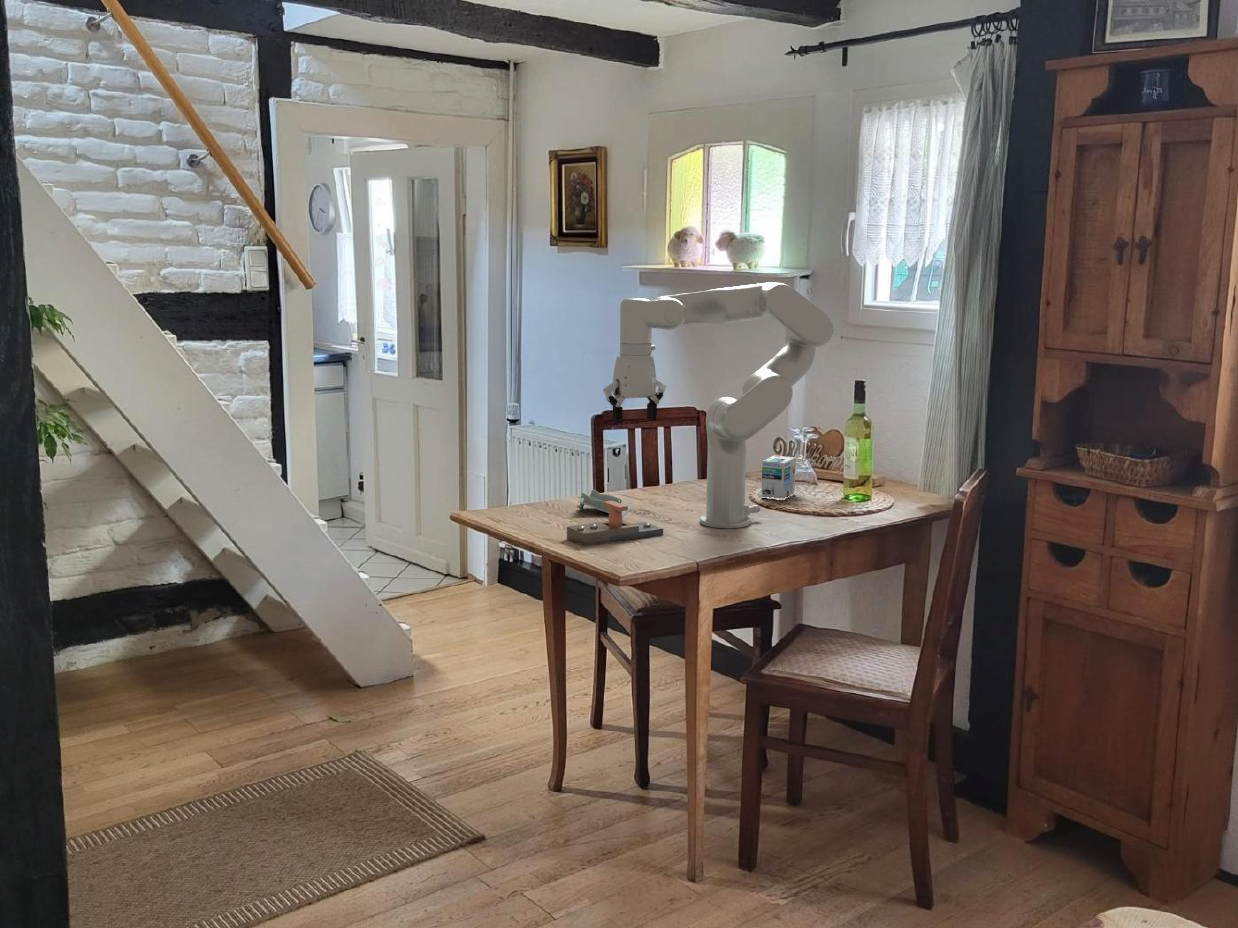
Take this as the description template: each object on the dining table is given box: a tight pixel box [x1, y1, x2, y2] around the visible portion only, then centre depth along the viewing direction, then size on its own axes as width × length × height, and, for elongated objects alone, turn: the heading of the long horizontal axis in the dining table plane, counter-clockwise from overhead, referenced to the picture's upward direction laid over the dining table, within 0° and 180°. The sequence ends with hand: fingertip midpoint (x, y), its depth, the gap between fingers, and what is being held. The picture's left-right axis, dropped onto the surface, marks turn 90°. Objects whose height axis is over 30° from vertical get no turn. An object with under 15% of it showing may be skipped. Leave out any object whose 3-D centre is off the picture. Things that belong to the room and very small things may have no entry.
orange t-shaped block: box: [604, 501, 628, 528], centre depth 269 cm, size 3×7×8 cm, turn 32°
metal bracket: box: [576, 489, 635, 519], centre depth 296 cm, size 14×6×15 cm
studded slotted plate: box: [566, 519, 664, 547], centre depth 269 cm, size 22×8×4 cm, turn 122°
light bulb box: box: [760, 454, 797, 498], centre depth 315 cm, size 11×7×11 cm, turn 154°
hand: (634, 421), depth 274 cm, fingers open, 9 cm apart
